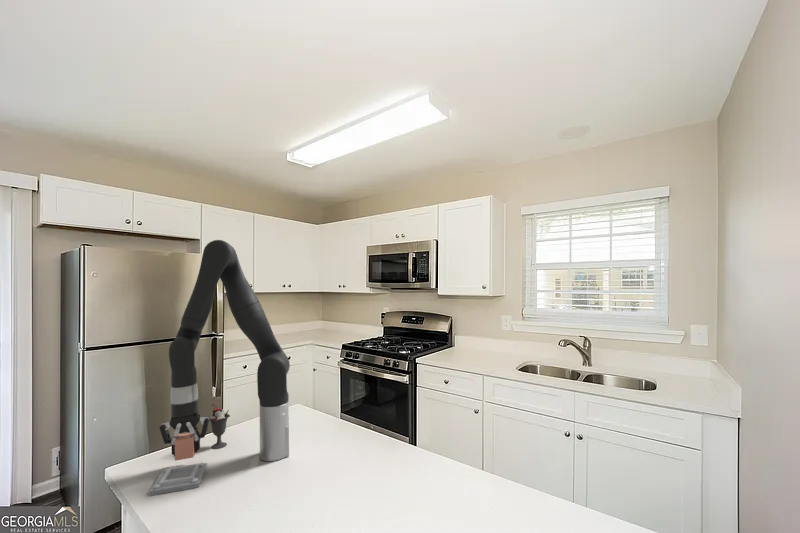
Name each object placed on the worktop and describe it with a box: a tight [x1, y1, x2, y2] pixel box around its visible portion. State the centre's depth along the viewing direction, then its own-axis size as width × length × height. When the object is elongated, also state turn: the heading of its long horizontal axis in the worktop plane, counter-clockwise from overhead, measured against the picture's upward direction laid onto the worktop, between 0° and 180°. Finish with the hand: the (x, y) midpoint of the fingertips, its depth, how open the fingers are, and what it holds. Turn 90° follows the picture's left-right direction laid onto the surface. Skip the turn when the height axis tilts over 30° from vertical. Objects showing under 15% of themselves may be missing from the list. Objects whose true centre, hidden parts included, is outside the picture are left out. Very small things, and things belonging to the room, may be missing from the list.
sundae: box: [209, 403, 231, 450], centre depth 129 cm, size 7×7×15 cm
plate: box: [149, 462, 208, 496], centre depth 107 cm, size 12×12×2 cm
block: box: [174, 432, 196, 461], centre depth 115 cm, size 5×5×6 cm
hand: (186, 453), depth 115 cm, fingers closed on block, 5 cm apart
